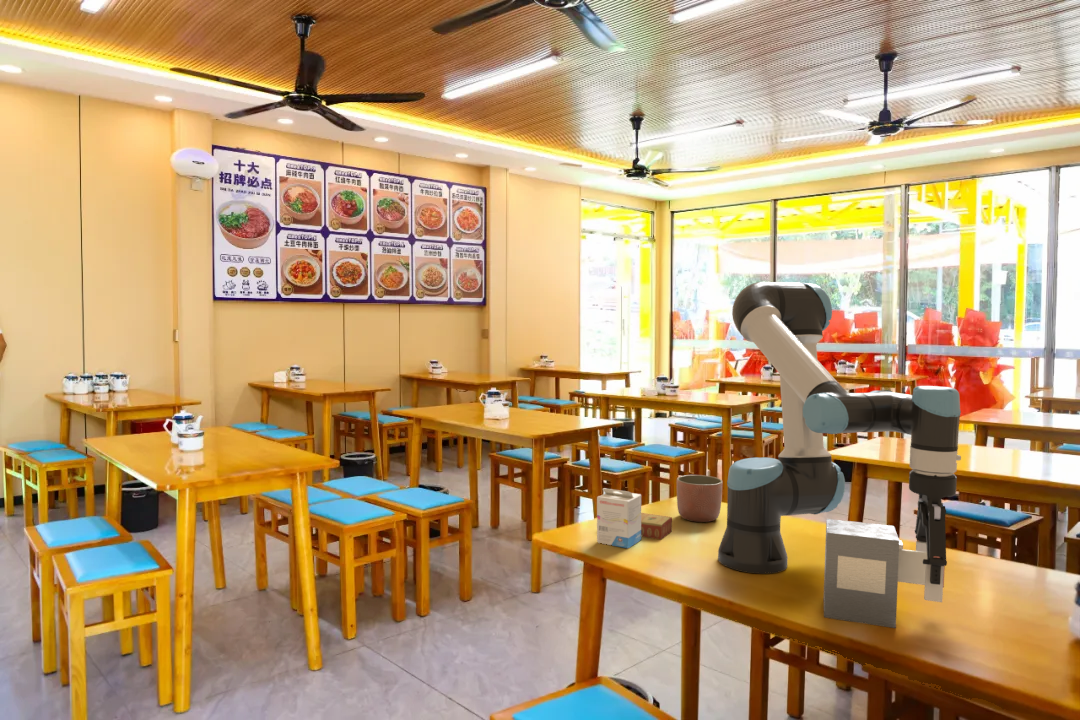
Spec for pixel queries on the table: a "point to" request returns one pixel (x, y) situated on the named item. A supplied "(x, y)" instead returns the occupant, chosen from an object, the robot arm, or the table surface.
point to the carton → (655, 525)
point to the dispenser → (861, 572)
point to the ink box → (618, 518)
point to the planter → (699, 497)
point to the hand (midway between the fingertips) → (927, 587)
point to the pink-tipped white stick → (912, 567)
